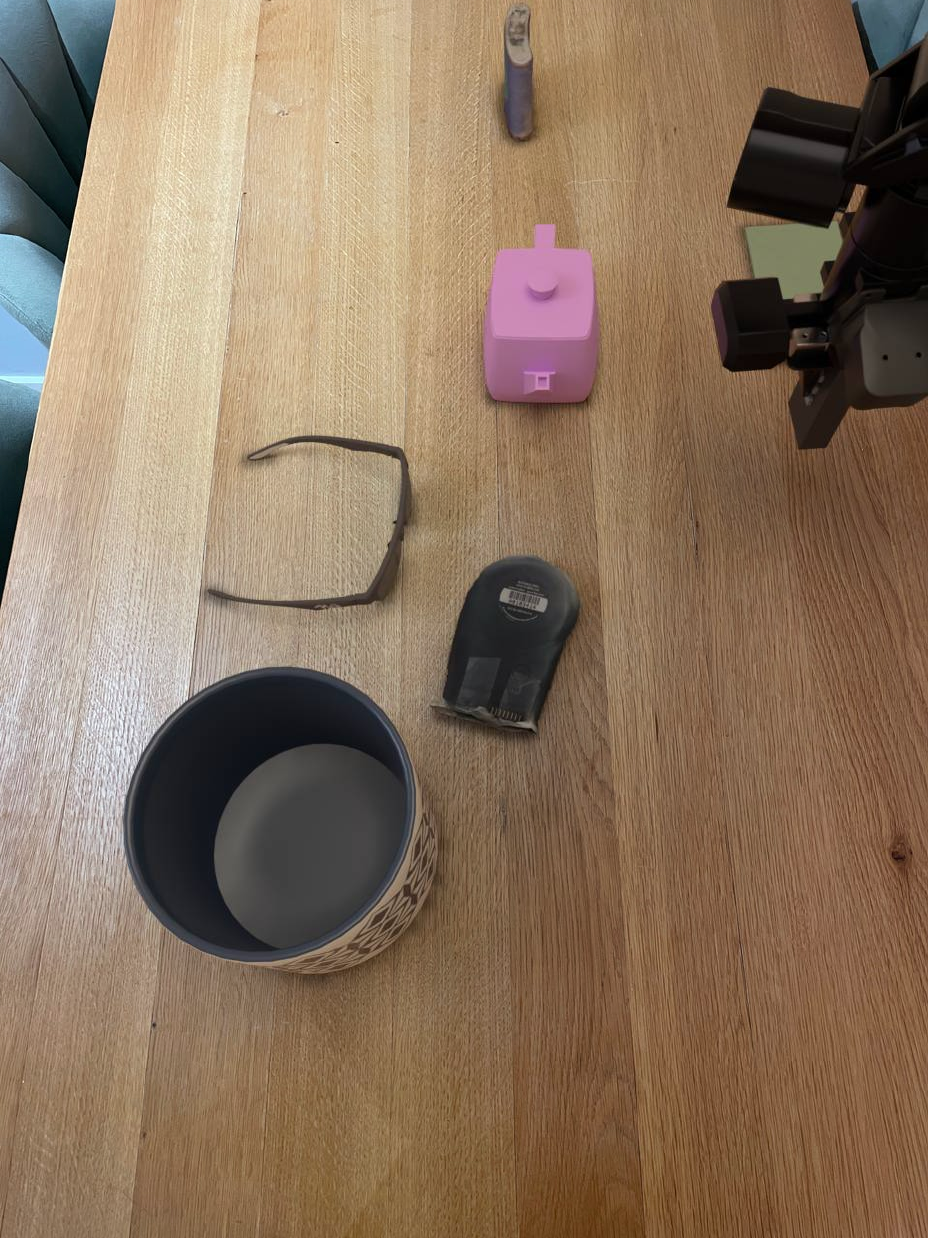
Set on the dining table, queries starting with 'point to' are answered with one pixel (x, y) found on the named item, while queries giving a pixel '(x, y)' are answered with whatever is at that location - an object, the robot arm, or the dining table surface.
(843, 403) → the dark grey rectangular prism
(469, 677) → the electronic device
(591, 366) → the teapot
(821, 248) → the mat
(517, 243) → the dining table surface
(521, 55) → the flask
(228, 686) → the planter
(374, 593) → the sunglasses
